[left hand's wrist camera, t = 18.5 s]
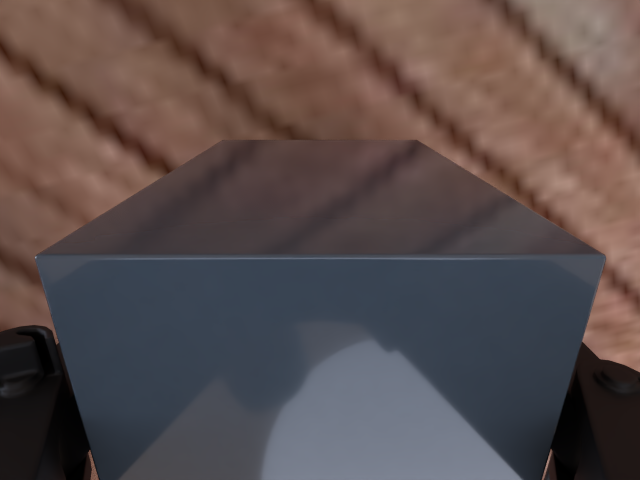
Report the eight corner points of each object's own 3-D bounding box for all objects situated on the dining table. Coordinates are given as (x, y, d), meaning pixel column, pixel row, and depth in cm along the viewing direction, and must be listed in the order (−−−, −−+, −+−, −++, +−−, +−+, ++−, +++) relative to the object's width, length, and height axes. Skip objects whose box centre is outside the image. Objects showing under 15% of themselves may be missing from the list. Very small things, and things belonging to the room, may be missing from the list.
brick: (236, 311, 19) (133, 603, 8) (221, 139, 16) (31, 255, 5) (402, 311, 19) (507, 602, 8) (418, 139, 16) (609, 255, 5)
